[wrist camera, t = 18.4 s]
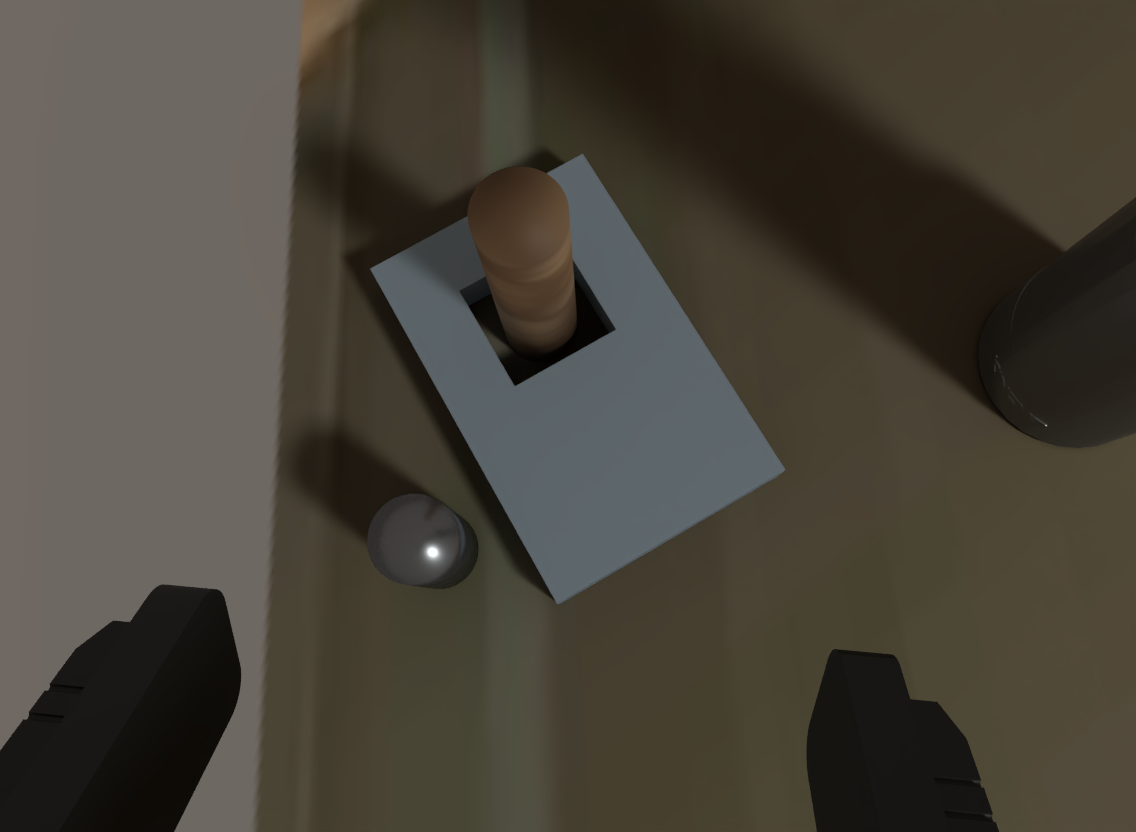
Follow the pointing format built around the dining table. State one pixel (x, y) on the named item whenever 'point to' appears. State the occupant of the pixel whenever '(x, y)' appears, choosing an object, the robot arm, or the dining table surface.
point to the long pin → (527, 259)
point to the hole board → (585, 399)
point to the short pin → (421, 543)
